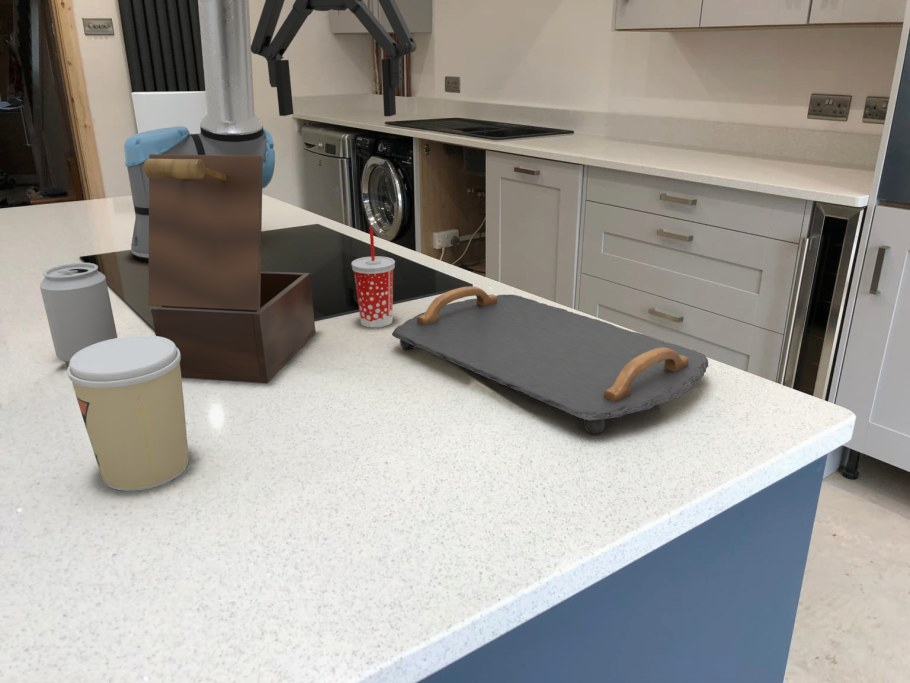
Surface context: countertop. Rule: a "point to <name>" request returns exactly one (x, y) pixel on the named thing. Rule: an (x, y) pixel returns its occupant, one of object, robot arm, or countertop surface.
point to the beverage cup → (374, 288)
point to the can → (77, 308)
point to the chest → (242, 332)
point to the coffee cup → (133, 409)
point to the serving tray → (554, 354)
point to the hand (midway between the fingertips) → (337, 115)
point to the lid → (205, 231)
